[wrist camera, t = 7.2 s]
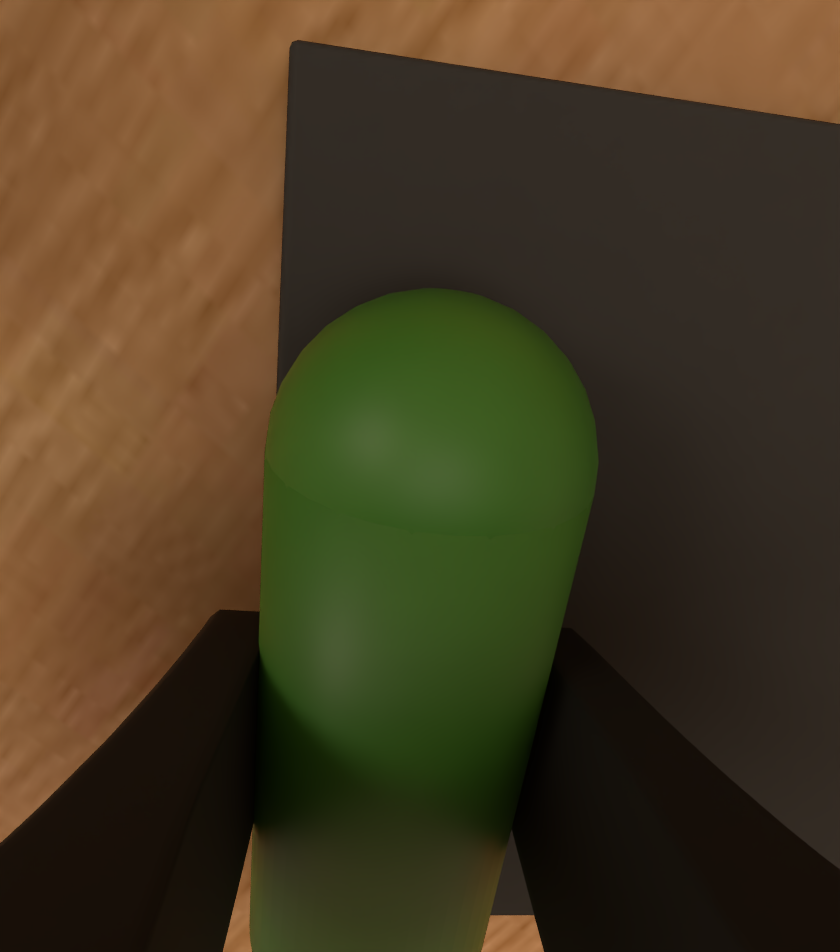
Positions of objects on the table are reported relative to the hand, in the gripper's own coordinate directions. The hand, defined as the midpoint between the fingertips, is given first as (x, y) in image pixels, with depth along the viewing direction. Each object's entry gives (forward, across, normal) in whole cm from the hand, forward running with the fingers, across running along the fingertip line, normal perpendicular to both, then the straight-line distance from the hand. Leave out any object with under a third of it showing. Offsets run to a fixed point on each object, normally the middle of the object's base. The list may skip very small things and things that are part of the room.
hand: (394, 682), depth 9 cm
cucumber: (-1, 0, 0) cm, 1 cm away
